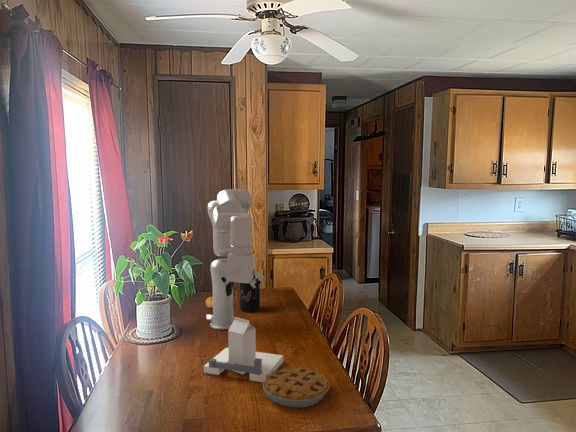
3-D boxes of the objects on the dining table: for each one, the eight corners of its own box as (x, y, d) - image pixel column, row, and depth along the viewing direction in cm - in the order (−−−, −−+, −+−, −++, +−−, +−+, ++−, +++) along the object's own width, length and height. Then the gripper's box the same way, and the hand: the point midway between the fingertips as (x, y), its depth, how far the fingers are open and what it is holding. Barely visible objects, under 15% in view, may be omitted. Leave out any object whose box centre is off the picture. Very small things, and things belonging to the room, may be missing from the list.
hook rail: (208, 367, 161) (208, 353, 161) (211, 364, 163) (211, 351, 163) (259, 375, 155) (259, 361, 155) (261, 372, 157) (261, 358, 156)
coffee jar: (236, 311, 232) (235, 277, 230) (244, 305, 242) (243, 273, 241) (255, 313, 229) (255, 279, 227) (262, 307, 239) (262, 274, 237)
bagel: (208, 310, 235) (208, 301, 234) (203, 304, 245) (203, 296, 244) (227, 308, 239) (227, 299, 238) (221, 303, 249) (221, 294, 248)
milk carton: (243, 375, 161) (242, 323, 159) (228, 370, 165) (227, 319, 163) (256, 368, 166) (255, 318, 164) (241, 363, 170) (240, 314, 169)
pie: (314, 417, 134) (315, 401, 133) (250, 401, 143) (250, 386, 142) (338, 385, 153) (338, 371, 153) (280, 373, 163) (280, 360, 162)
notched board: (203, 372, 163) (203, 365, 162) (226, 353, 179) (226, 347, 179) (265, 382, 155) (265, 375, 155) (283, 361, 172) (283, 355, 172)
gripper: (214, 250, 160) (215, 297, 162) (259, 253, 155) (259, 302, 157) (224, 246, 167) (224, 291, 169) (267, 249, 162) (267, 296, 164)
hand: (241, 296), depth 163 cm, fingers open, 9 cm apart
